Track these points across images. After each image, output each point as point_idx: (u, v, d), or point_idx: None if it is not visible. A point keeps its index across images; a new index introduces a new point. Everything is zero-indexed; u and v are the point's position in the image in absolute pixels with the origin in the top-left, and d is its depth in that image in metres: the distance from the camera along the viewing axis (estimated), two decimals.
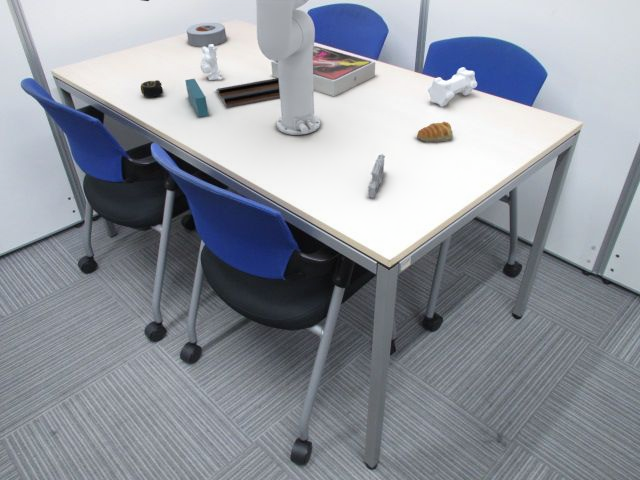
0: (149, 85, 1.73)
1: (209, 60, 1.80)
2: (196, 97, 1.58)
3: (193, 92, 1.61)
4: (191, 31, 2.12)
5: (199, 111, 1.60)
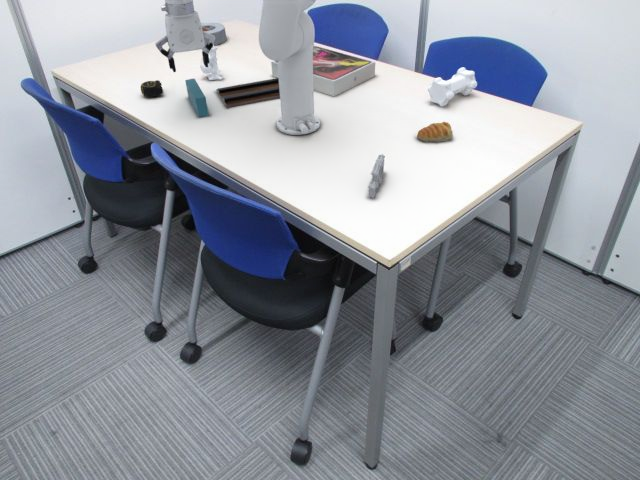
0: (149, 85, 1.73)
1: (209, 60, 1.80)
2: (196, 97, 1.58)
3: (193, 92, 1.61)
4: None
5: (199, 111, 1.60)
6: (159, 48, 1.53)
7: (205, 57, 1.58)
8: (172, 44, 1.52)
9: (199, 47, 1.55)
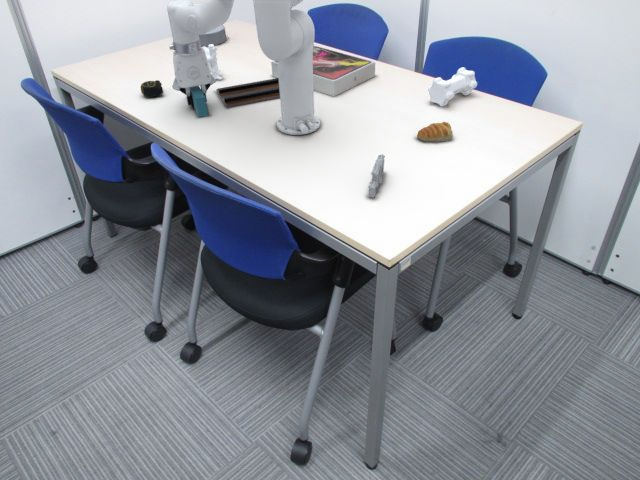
0: (149, 85, 1.73)
1: (209, 60, 1.80)
2: (196, 97, 1.58)
3: (193, 92, 1.61)
4: None
5: (199, 111, 1.60)
6: (177, 89, 1.61)
7: None
8: (180, 80, 1.58)
9: (206, 82, 1.61)
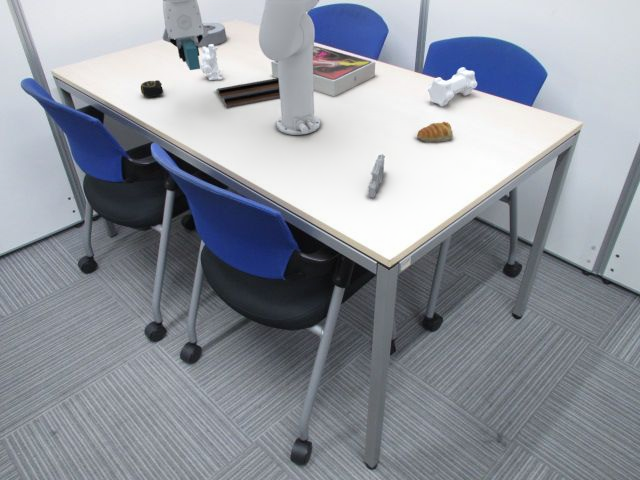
0: (149, 85, 1.73)
1: (209, 60, 1.80)
2: (187, 48, 1.49)
3: (184, 43, 1.52)
4: None
5: (190, 63, 1.51)
6: (167, 40, 1.52)
7: None
8: (170, 30, 1.49)
9: (198, 33, 1.52)
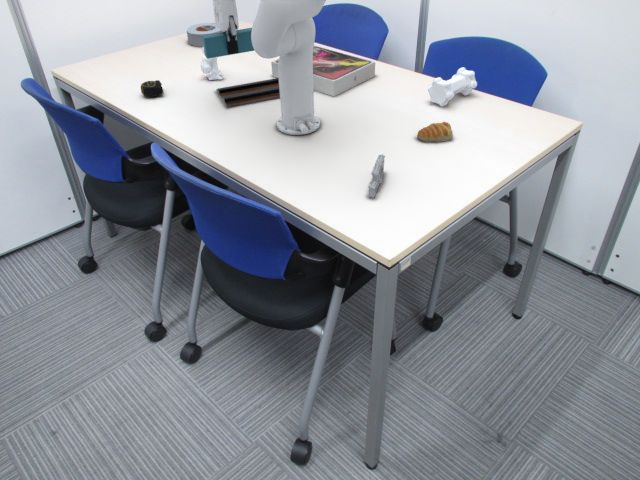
0: (149, 85, 1.73)
1: (209, 60, 1.80)
2: (204, 35, 1.58)
3: (218, 33, 1.59)
4: (191, 31, 2.12)
5: (204, 50, 1.60)
6: None
7: None
8: None
9: (221, 29, 1.55)
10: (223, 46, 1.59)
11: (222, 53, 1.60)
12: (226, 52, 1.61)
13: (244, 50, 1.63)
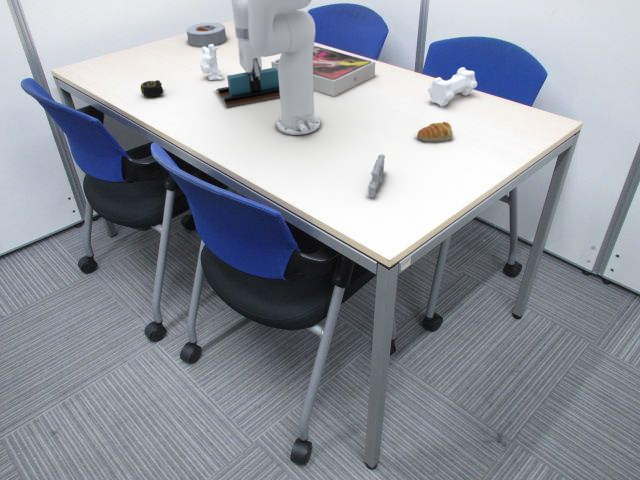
0: (149, 85, 1.73)
1: (209, 60, 1.80)
2: (229, 75, 1.69)
3: (242, 73, 1.70)
4: (191, 31, 2.12)
5: (229, 88, 1.71)
6: None
7: (250, 83, 1.70)
8: (239, 57, 1.70)
9: (246, 70, 1.65)
10: (247, 85, 1.70)
11: (246, 92, 1.71)
12: (249, 91, 1.71)
13: None
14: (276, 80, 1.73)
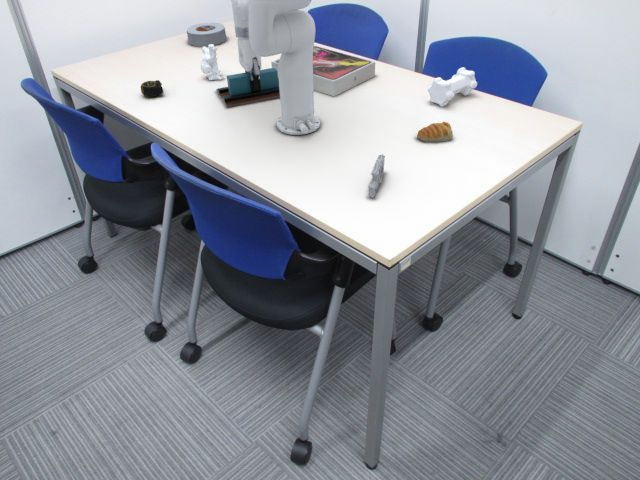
0: (149, 85, 1.73)
1: (209, 60, 1.80)
2: (229, 75, 1.69)
3: (241, 73, 1.70)
4: (191, 31, 2.12)
5: (228, 88, 1.71)
6: None
7: (250, 82, 1.69)
8: (239, 56, 1.70)
9: (245, 69, 1.65)
10: (246, 85, 1.70)
11: (245, 92, 1.71)
12: (249, 91, 1.72)
13: None
14: (276, 80, 1.73)
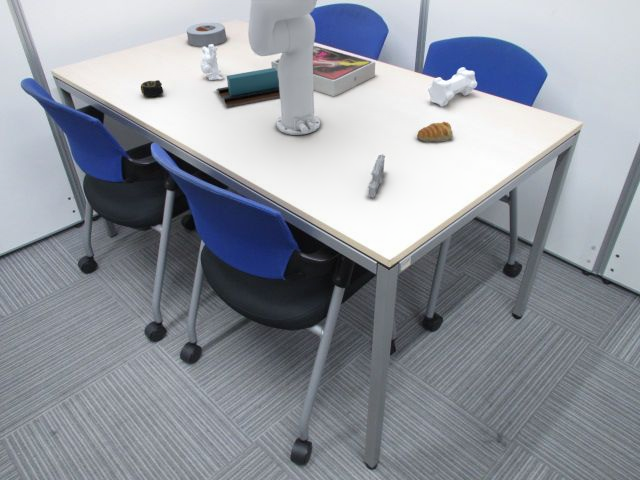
0: (149, 85, 1.73)
1: (209, 60, 1.80)
2: (229, 75, 1.69)
3: (241, 73, 1.70)
4: (191, 31, 2.12)
5: (228, 88, 1.71)
6: None
7: None
8: None
9: None
10: (246, 85, 1.70)
11: (245, 92, 1.71)
12: (249, 91, 1.72)
13: None
14: (276, 80, 1.73)
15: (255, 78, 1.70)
